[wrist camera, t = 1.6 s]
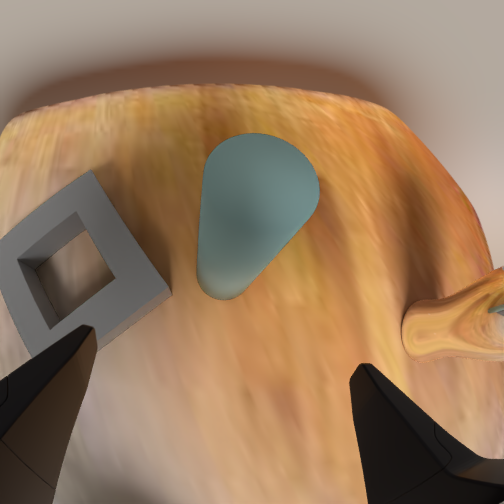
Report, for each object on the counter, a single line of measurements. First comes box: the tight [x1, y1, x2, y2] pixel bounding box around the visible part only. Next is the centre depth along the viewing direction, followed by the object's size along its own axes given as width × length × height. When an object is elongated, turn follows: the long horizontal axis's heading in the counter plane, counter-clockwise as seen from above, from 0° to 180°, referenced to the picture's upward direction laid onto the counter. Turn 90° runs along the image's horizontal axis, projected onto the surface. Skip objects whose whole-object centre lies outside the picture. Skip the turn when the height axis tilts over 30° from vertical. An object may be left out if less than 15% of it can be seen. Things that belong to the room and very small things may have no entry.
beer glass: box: [402, 266, 504, 363], centre depth 16 cm, size 7×7×15 cm
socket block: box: [0, 170, 172, 358], centre depth 18 cm, size 11×11×3 cm
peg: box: [197, 133, 320, 300], centre depth 16 cm, size 4×4×13 cm
